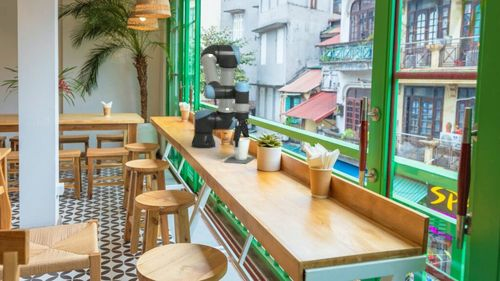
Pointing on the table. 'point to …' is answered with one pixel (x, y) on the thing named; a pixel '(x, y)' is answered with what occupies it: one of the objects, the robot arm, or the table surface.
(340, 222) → the table surface
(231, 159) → the mat
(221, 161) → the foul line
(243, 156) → the cup
